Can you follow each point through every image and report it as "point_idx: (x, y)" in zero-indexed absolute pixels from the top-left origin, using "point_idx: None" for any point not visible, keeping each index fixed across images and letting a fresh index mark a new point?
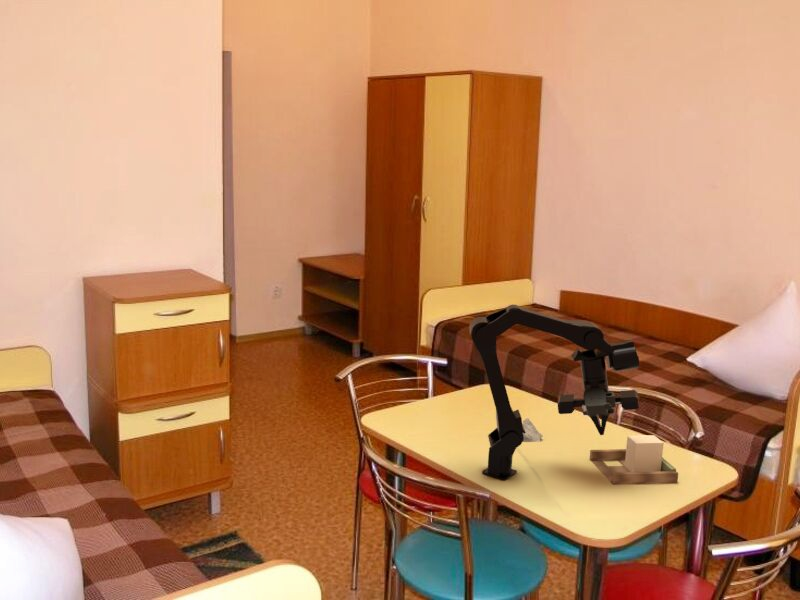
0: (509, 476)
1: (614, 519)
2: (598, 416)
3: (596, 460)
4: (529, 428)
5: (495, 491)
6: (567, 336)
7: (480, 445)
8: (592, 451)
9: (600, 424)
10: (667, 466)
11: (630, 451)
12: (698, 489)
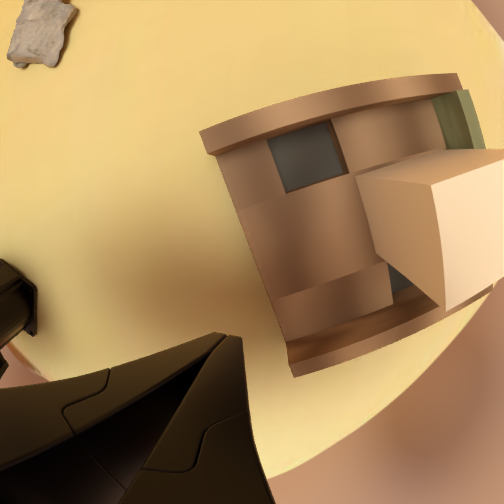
0: (34, 320)
1: (274, 448)
2: (131, 424)
3: (238, 147)
4: (32, 18)
5: (48, 376)
6: None
7: None
8: (209, 150)
9: (192, 374)
10: None
11: (403, 231)
12: None
